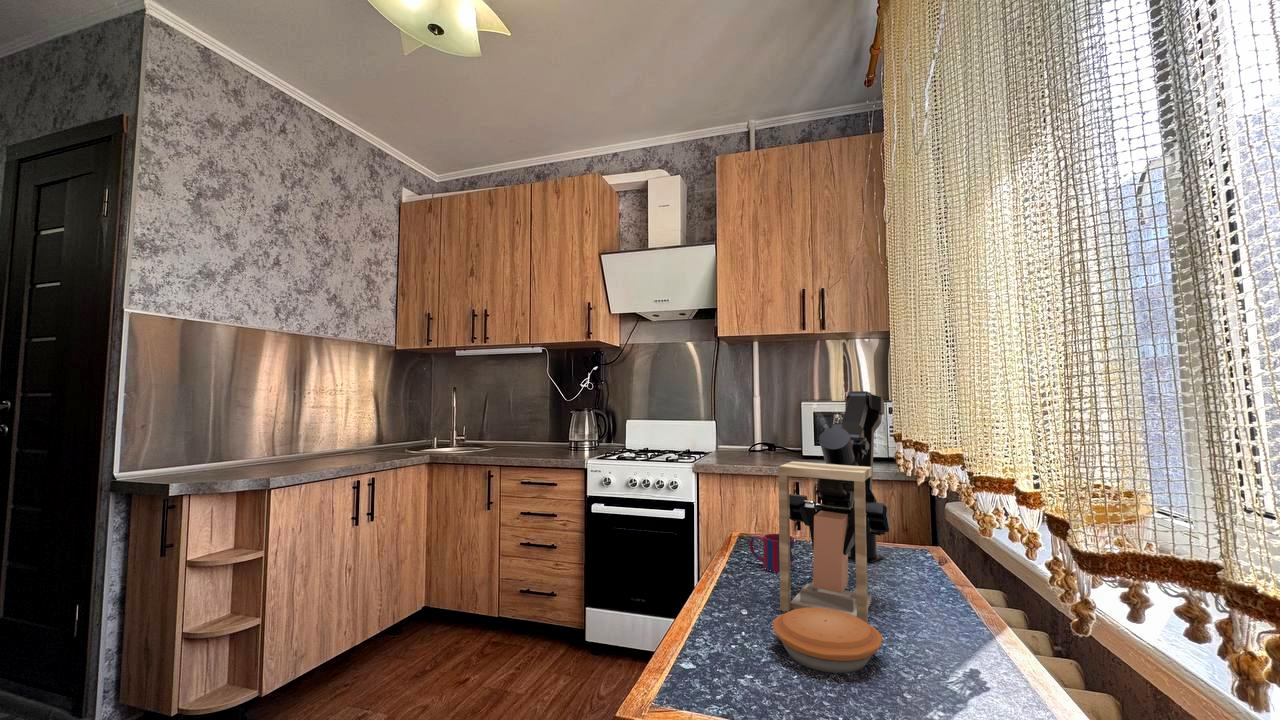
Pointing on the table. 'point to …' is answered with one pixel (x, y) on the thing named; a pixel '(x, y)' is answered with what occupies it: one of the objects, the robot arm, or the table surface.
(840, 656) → the pie
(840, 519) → the block
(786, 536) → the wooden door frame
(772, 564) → the mug
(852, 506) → the robot arm
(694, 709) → the table surface
